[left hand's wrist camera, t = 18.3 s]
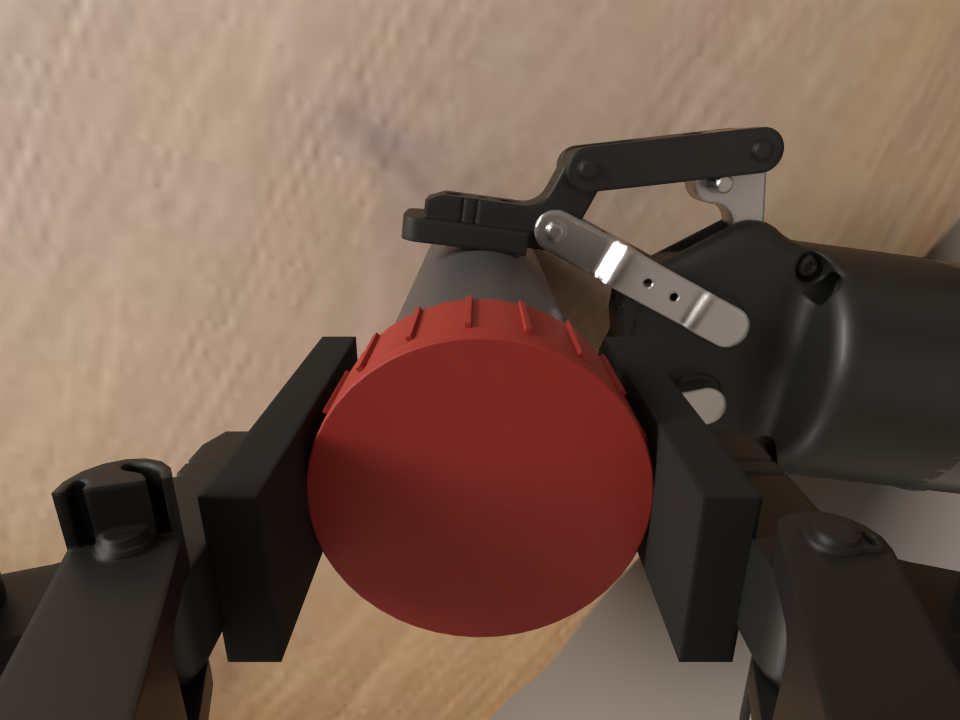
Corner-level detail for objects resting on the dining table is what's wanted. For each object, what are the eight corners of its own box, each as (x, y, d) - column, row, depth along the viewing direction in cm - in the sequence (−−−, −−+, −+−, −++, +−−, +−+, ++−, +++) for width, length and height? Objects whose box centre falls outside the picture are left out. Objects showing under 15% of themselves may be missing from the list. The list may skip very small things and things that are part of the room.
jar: (400, 293, 26) (291, 504, 11) (465, 193, 24) (441, 283, 10) (495, 355, 27) (513, 626, 12) (563, 263, 25) (678, 442, 11)
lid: (688, 416, 12) (735, 479, 10) (500, 600, 14) (504, 690, 11) (456, 228, 11) (449, 252, 9) (277, 456, 12) (234, 526, 10)
